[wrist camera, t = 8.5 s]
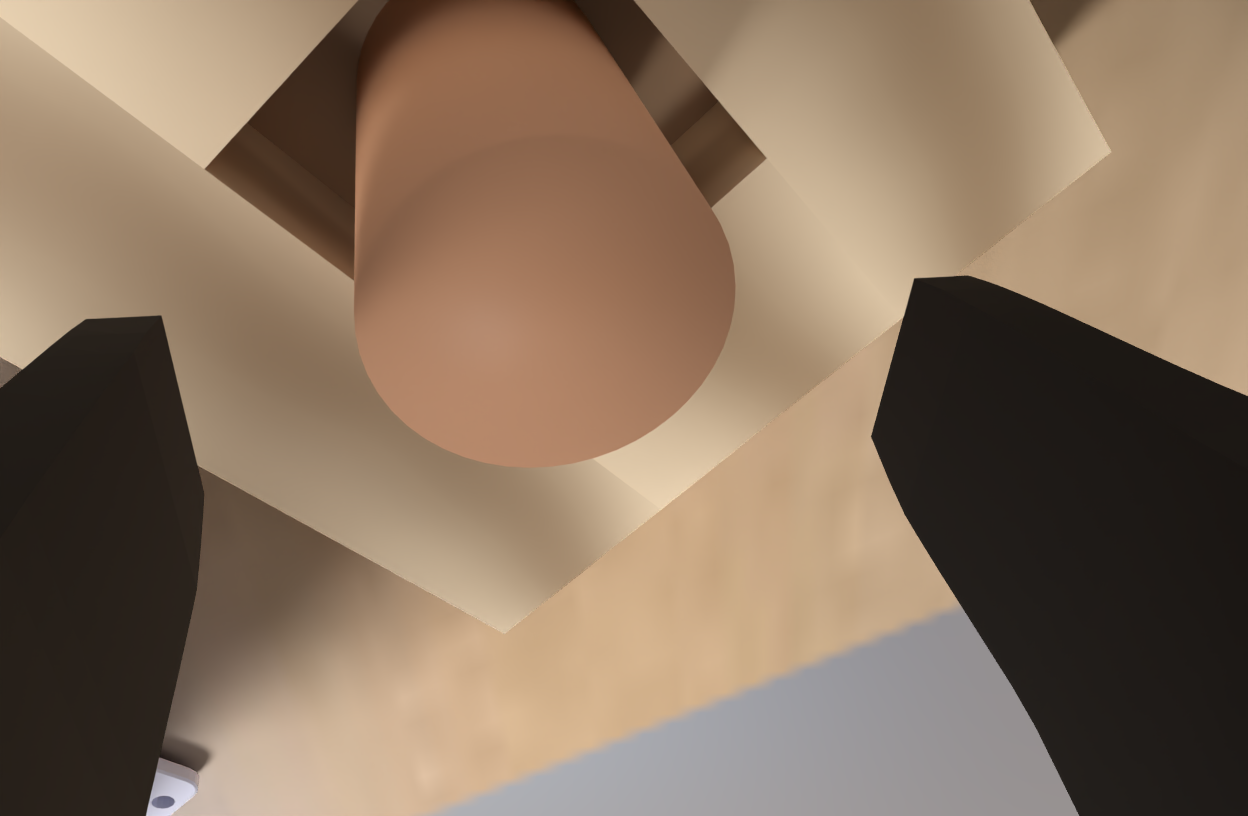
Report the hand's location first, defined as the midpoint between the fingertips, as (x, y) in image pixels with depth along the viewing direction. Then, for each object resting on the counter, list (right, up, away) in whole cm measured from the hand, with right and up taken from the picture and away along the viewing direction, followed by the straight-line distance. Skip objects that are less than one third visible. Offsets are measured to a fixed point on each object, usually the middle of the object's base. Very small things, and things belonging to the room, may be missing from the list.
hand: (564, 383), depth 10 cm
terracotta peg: (-2, +5, +6) cm, 8 cm away
